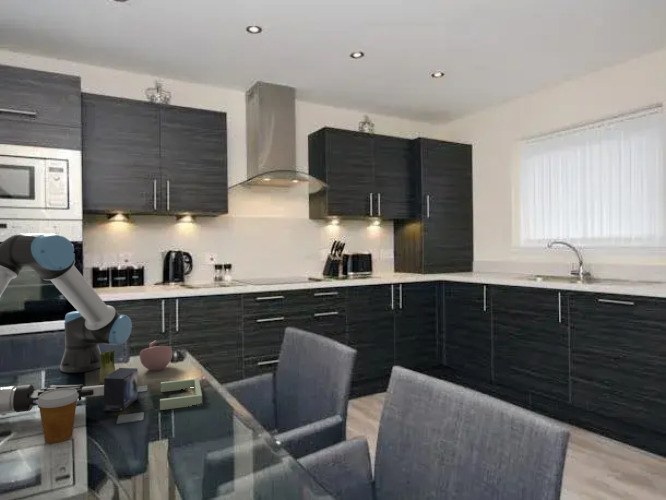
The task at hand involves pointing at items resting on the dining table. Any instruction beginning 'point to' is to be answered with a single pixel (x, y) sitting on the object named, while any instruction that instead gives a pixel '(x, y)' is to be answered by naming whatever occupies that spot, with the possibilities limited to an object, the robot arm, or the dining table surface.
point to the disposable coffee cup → (58, 413)
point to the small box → (120, 389)
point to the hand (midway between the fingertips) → (106, 389)
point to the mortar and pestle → (156, 356)
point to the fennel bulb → (106, 365)
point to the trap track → (169, 402)
